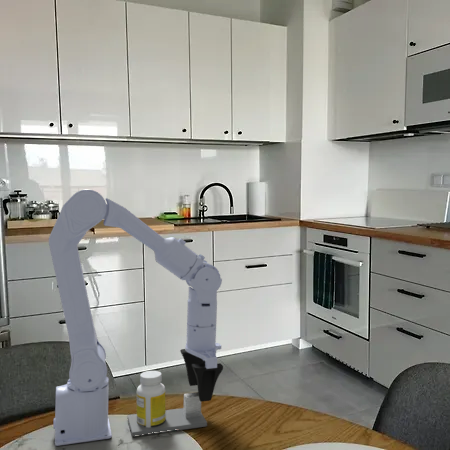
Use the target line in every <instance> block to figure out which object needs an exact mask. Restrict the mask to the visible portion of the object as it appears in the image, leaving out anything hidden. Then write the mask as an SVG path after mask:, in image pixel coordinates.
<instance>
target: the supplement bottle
mask: <svg viewBox="0 0 450 450" xmlns="http://www.w3.org/2000/svg"><path fill="white" fill-rule="evenodd" d="M162 377H163V375H162V372H161V371H158V370H146V371H143V372H141V373H140V376H139V383H140V384H139V385H138V387H137V388H136V414H137V423H138V424H139V425H140V426H142V427H157V426H160V425H162V424H164V423H165V421H166V410H167V409H166V386H165V385H164V384H163V383H162V380H163V379H162Z"/></svg>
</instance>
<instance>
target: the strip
mask: <svg viewBox="0 0 450 450" xmlns="http://www.w3.org/2000/svg"><path fill="white" fill-rule="evenodd" d="M126 417H127V419H128V420H127V422H129V423H128V426H130V427H129V431H130V430H131V431H130V434H131V433H132V434H131V437H132V436H134V437H136V436H135V435H141V436H143V435H142V434H148V433H152V432H153V433H154V432H160V431H167V430H175V429H180V430H179V431H181V430H189V429H191V430H192V429H197V428H202V427H203V428H205V427H208V422H207V420H206V418H205V416H204V415H203V413H202V402H201V401H200V400H199V395H198V391H197V392H188V393H183V407H182V408H173V409H166V421H165V423H164V424H162V425H160V426H157V427H142V426H140V425H139V424H138V423H137V413H133V414H127V416H126ZM148 435H149V434H148Z"/></svg>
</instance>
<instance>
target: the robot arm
mask: <svg viewBox="0 0 450 450" xmlns="http://www.w3.org/2000/svg"><path fill="white" fill-rule="evenodd" d="M102 221H103V225H104V226H105V227H112V228H119V229H121V230H123V231H124V232H126V233H127V234H128V235H130V236H132V237H133V238H134V239H136V240H137V241H138V242H141V243H142V244H143V245H145V246H146V247H148V248H149V249H150V250H152V251H153V252H154V259H155V262H156V263H158V264H159V265H160V266H162V267H163V268H164V269H166V270H167V271H168V272H170V273H171V274H173V275H174V276H175V277H176V278H178V279H180V280H181V281H185V282H186V284H187V285H188V286H189V287H188V298H187V315H186V321H187V322H186V324H187V325H186V343H185V346H184V348H182V349H180V351H179V352H180V353H181V356H182V358H183V360H184V361H183V362H184V364H185V369H186V370H185V371H186V374H187V381H188V385H189V386H190V387H192V386H197V392H198V395H199V400H200V401H201V403H202V402H210V401H212V398H213V395H214V392H215V388H216V383H217V381H218V379H219V376H220V375H221V373H222V371H223V369H224V365H223V364H222V363H218V357H217V351H218V350H222V345H221V343H218V342H217V314H218V313H217V312H218V296H217V295H218V290H219V289H220V288H221V285H222V283H223V278H221V273H220V271H219V270H218V268H217V267H216V266H214V265H213V264H211V263H208V261H207V260H205V259H206V257H205V256H204V255H203V254H201V253H200V254H197V253H196V252H195V251H193V249H191V248H189V247H188V246H187V245H186V244H187V242H186V241H185V240H184V239H182V238H181V237H180V238H178V239H177V238H176V237H174V236H171V237H166V238H165V237H163V236H162V235H161V234H159V233H158V232H156V231H155V230H154V229H152V227H150V226H149V225H148V224H146V223H145V222H144V221H142V220H141V219H140V218H139V217H137V216H136V215H135V214H134V213H132V212H131V211H130V210H129V209H127V208H126V207H124V206H123V205H121V204H119V203H116V202H115V201H114V200H112V199H110V198H108V197H106V198H104V197H103V195H102V194H101V193H99V192H97V191H96V190H93V189H87V188H86V189H81V190H78V191H76V192H75V193H74V194H73V195H71V197H70V198H69V199H68V200H67V201H66V202H65V203H64V204H63V205H62V207H61V209H60V212H59V213H58V217H57V219H56V221H55V223H54V226H53V227H52V230H51V232H50V235H49V237H48V247H49V250H50V255H51V260H52V261H51V262H52V264H53V269H54V274H55V279H56V283H57V288H58V293H59V298H60V301H61V303H60V304H61V307H62V312H63V315H64V320H65V321H64V322H65V325H66V331H67V335H68V339H69V340H68V341H69V352H70V353H69V354H70V357H71V358H70V359H71V364H70V368H69V372H68V374H69V375H68V376H69V378H68V379H67V383H66V384H63V385H59V386H58V385H57V386H55V406H54V407H55V409H54V413H55V416H54V417H53V422H52V423H53V427H52V428H53V430H54V431H55V432H54V446H58V447H59V446H65V445H71V444H79V443H87V442H93V441H99V440H100V441H101V440H108V439H111V438H112V437H113V434H112V430H111V429H112V427H111V424H110V419H109V380H110V379H109V377H108V376H107V375H108V374H107V373H108V367H107V364H106V359H107V358H106V357H107V353H106V349H105V347H104V346H103V345H102V344H101V343H100V341H99V339H98V336H97V331H96V328H95V325H94V319H93V315H92V311H91V310H92V309H91V305H90V301H89V297H88V292H87V291H88V290H87V286H86V280H85V277H84V272H83V266H82V263H81V257H80V252H79V247H78V245H79V243H80V242H81V240H82V239H83V238H84V237H85V236H86V234H87V232H88V231H89V230H91V229H92V228H94V227H95V226H96V225H98V224H100V223H101V222H102Z"/></svg>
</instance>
